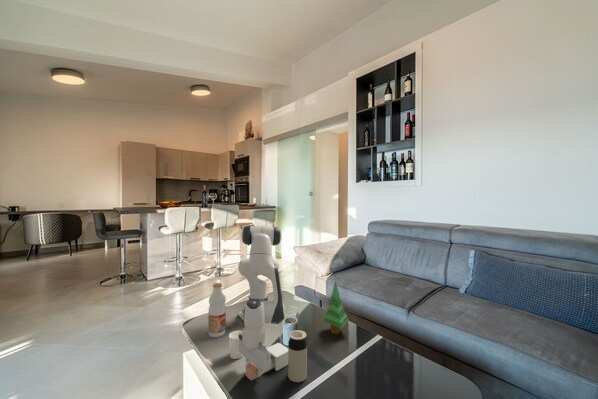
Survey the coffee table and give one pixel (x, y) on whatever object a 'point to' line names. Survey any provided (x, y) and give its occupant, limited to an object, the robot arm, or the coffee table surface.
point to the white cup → (234, 345)
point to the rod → (271, 363)
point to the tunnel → (279, 355)
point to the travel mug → (297, 356)
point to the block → (251, 371)
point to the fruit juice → (217, 312)
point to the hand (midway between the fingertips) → (254, 371)
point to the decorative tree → (335, 312)
